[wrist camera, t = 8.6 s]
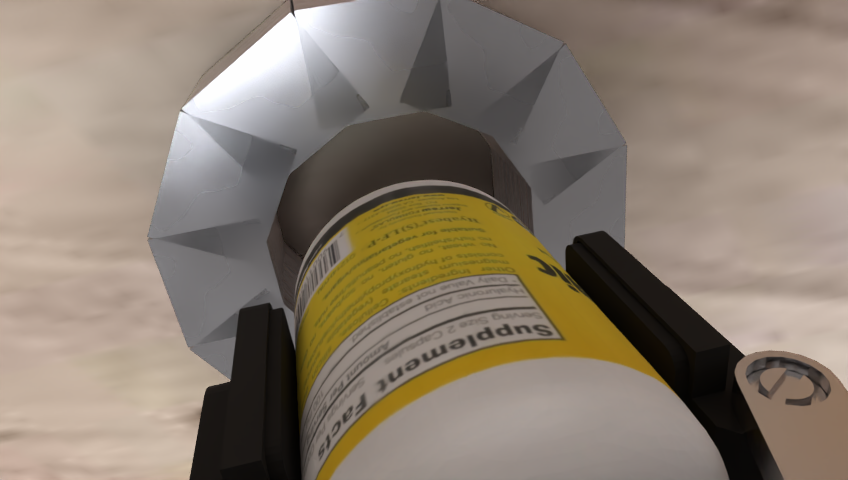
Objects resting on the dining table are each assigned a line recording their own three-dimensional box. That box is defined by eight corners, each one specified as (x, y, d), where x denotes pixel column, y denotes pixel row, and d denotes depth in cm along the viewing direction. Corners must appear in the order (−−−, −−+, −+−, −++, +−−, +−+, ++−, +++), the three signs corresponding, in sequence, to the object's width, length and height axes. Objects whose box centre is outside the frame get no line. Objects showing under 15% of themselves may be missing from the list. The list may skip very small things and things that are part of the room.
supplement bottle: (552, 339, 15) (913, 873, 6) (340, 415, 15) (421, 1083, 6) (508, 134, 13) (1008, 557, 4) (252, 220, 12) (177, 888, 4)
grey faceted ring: (117, 23, 15) (60, 52, 11) (566, -47, 16) (650, -42, 13) (242, 388, 20) (232, 492, 16) (573, 312, 22) (634, 392, 18)
